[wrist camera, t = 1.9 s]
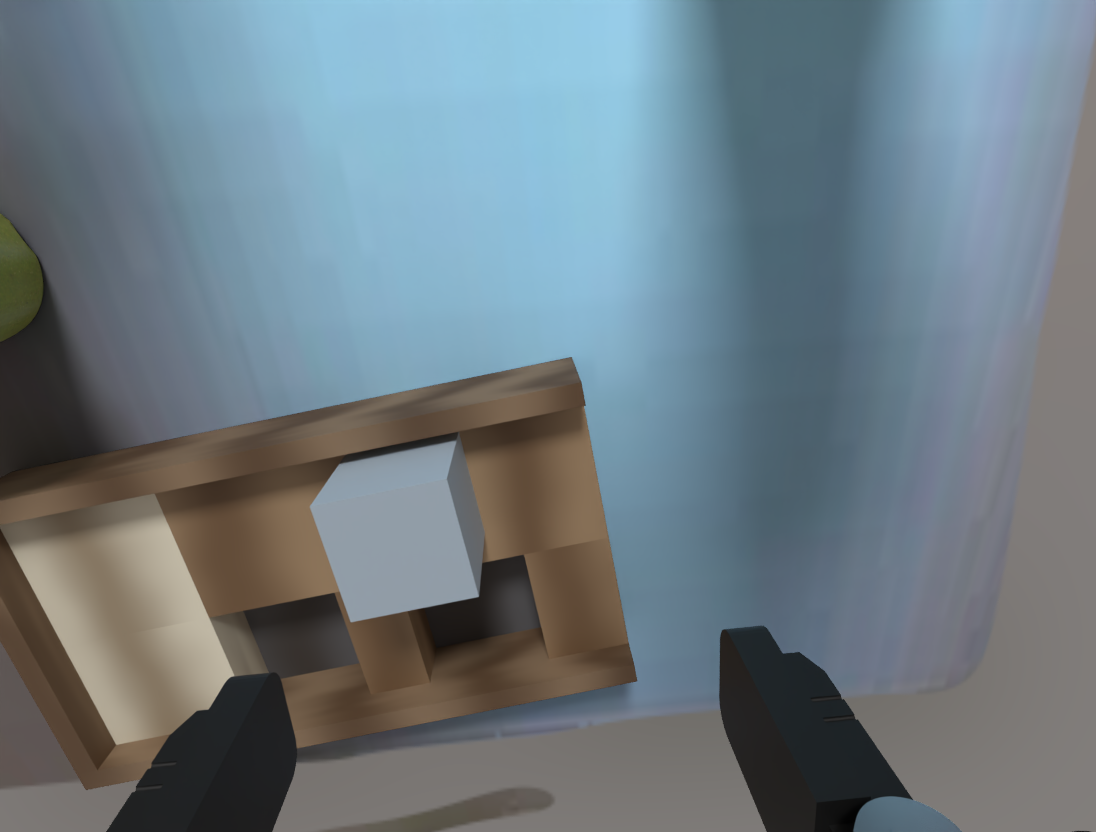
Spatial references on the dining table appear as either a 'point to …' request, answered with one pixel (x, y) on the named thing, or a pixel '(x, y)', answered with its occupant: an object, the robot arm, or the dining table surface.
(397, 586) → the block
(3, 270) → the plant pot
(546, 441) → the box
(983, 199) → the dining table surface
